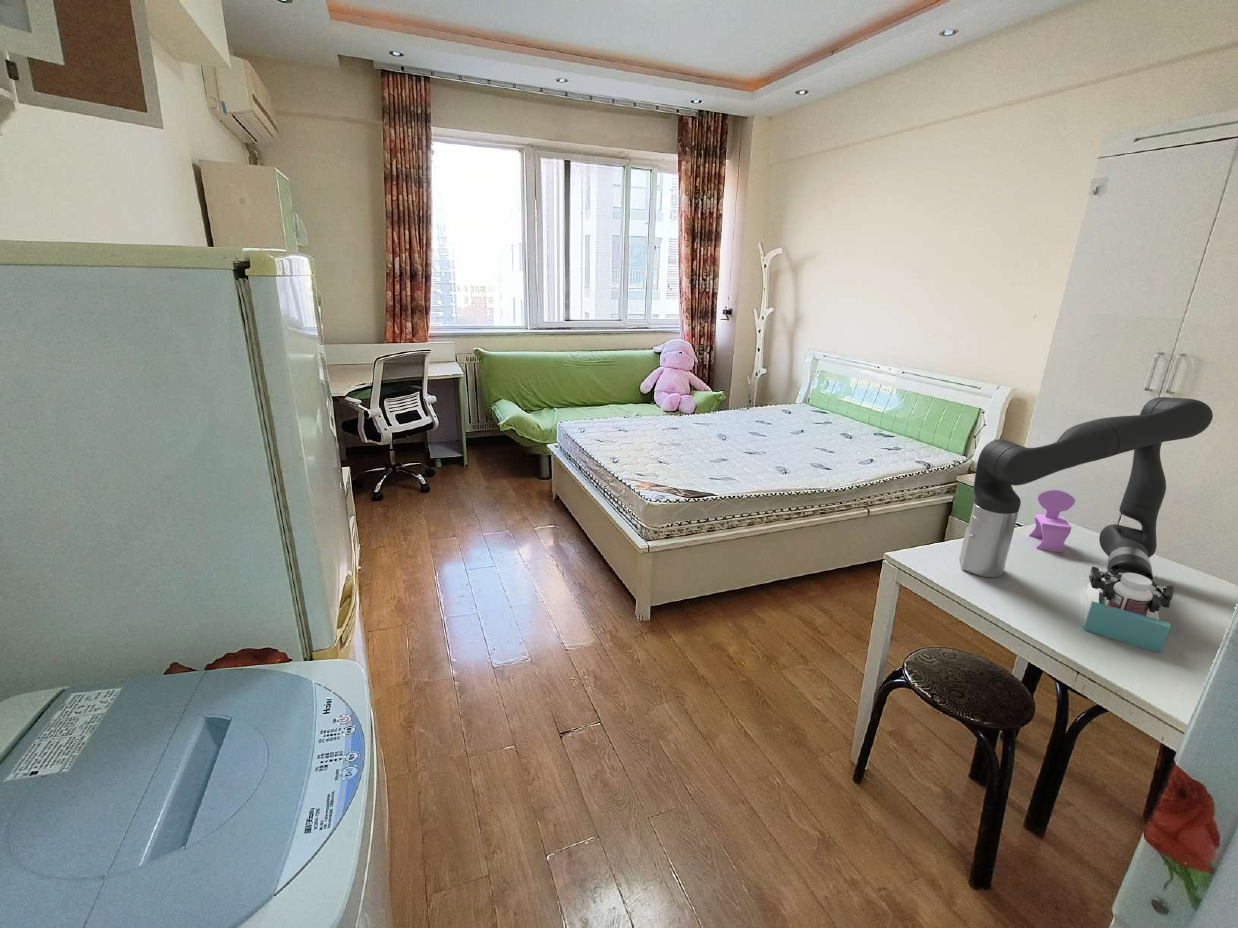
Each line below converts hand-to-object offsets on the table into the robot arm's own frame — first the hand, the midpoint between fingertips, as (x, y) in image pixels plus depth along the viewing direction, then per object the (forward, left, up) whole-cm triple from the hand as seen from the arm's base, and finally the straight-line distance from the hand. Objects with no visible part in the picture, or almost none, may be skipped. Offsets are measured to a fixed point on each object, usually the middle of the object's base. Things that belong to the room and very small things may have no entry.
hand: (1131, 602), depth 116 cm
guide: (+2, +7, -7) cm, 10 cm away
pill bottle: (+1, +2, -7) cm, 7 cm away
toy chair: (-5, +40, -7) cm, 41 cm away
